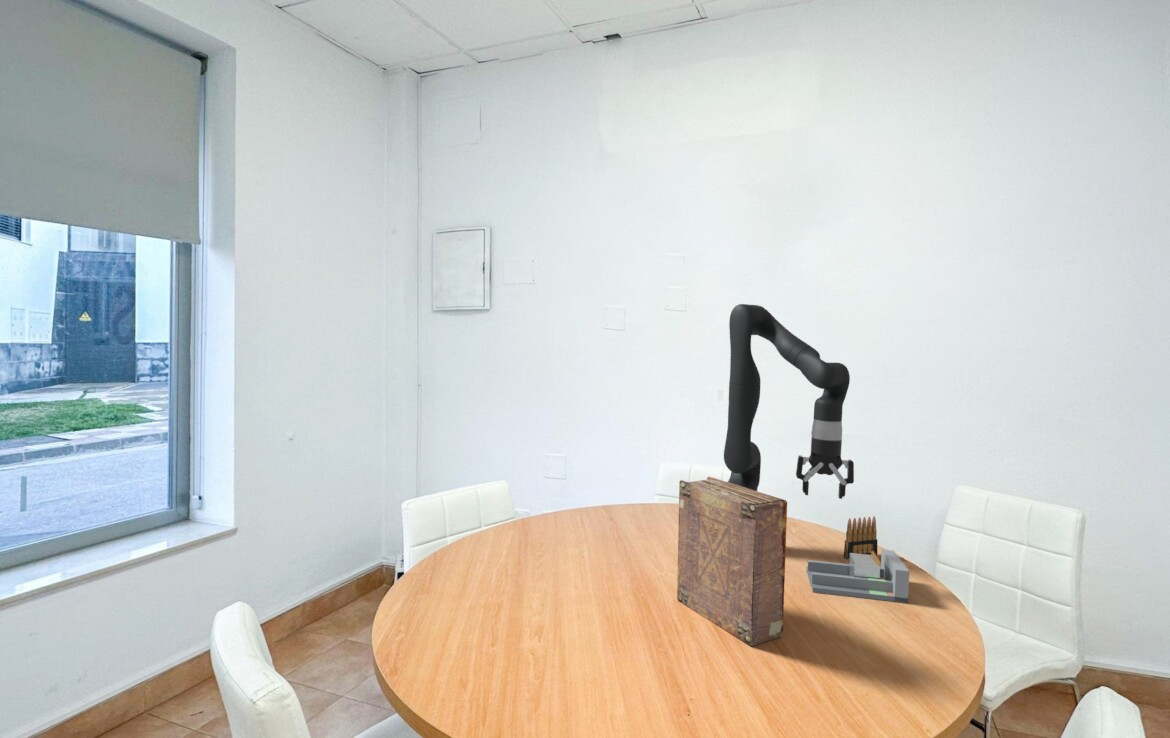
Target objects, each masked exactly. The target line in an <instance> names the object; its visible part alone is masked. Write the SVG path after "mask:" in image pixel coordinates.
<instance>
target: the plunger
mask: <svg viewBox="0 0 1170 738" xmlns="http://www.w3.org/2000/svg"><path fill="white" fill-rule="evenodd" d="M848 560H849V563H848V564H849V576H850V577H860V578H873V579H880V568H881V560H880V559H879V557H878V555H877V556H876V554H875V553H874V551H871V555H866V554H856V553H850V559H848Z"/></svg>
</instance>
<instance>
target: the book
mask: <svg viewBox="0 0 1170 738" xmlns="http://www.w3.org/2000/svg"><path fill="white" fill-rule="evenodd" d="M678 490H679V492H678V494H679V495H678V496H679V497H678V532H677V533H678V534H677V535H678V537H677V538H678V540H677V542H678V543H677V544H678V545H677V546H678V547H677V586H676V587H677V588H676V589H677V594H676V595H677V596H676V599H677V601H678V602H679V603H681V604H682V605H683V606H686V608H689V609H690V610H691V611H694V613H696V614H698V615H699V616H701V617H703V618H704V619H706V620H707V621H709V622H711V623H712V624H714V625H716V626H718V627H719V628H721V629H722V630H724V631H725V632H727V633H728V634H730V635H732V636H733V637H735V638H736V639H738V640H739V641H741V642H743V643H745V644H746V645H747V646H749V647H755V646H757V645H760V644H763V643H766V642H769V641H772V640H775V639H780V638H781V637H783V635H784V634H783V633H784V608H785V581H786V579H785V575H786V551H787V550H786V548H787V519H788V501H787V500H786V499H783V498H779V497H776V496H773V495H771V494H767V493H763V492H760V491H758V490H757V491H754V490H751V489H748V488H745V487H742V486H738V485H735V484H732V483H729V482H728V481H725V480H722V479H719V478H715V477H712V476H707V478H706V479H703V480H695V481H686V480H684V479H680V480H679V486H678Z"/></svg>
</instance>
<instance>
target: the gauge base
mask: <svg viewBox="0 0 1170 738" xmlns="http://www.w3.org/2000/svg"><path fill="white" fill-rule="evenodd" d="M880 554H881V555H880V556H881V560H880V562H881V566H880V579H873V578H860V577H850V576H849V563H839V562H829V561H820V560H809V559H807V565H806V568H805V569H806V575H807V577H808V580H809V584H810V587H811V590H812V593H815V594H816V593H817V594H827V595H833V596H842V597H851V598H858V599H860V598H861V599H868V600H876V601H886V602H895V603H903V604H909V590H910V589H909V588H910V587H909V586H910V585H909V584H910V570H909V569H908V568H907V566H906V565H905V563H904V562H903V561H902V560H901V558H900V556H898V554H897V553H896V551H895V550H893V549H884V548H883V549H881V553H880Z"/></svg>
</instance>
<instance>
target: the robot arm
mask: <svg viewBox="0 0 1170 738" xmlns="http://www.w3.org/2000/svg"><path fill="white" fill-rule="evenodd" d="M728 323H729V326H728V327H729V341H730V342H729V343H730V359H729V360H730V362H729V364H730V365H729V368H730V369H729V382H728V384H729V385H728V406H727V407H728V408H727V409H728V410H727V411H728V412H727V428H726V429H727V431H726V437H725V444H724V449H723V461H724V464H725V466H726V468H727V469H728V470H729V471H730V472H731V473H730V476H729V478H728V481H727V482H729V483H732V484H735V485H738V486H742V487H745V488H748V489H751V490H754V491H758V489H759V485H760V480H761V464H762V456H761V451H760V449H759V447H758V445H757V444H756V443H754V442H753V441H751V440H752V439H751V438H752V437H751V436H752V427H753V423H754V420H755V417H756V414H757V412H758V407H759V404H760V397H761V375H760V372H759V369H758V367H757V365H756V362H755V360H754V358H753V357H754V356H753V354H752V336H758V337H761V338H763V339H765V340H768V341H769V342H770V344H772V345H773V346H774V347H775V349H776V350H777V352H778V354H779V356H781V357H782V358H783V359H784V360H785V361H787V362H788V363H789V364H791V365H792V366H793V367H794V368H796V369H798V370H799V371H800V372H801V374H802V375H803V376H804V377H805V379H807V381H808V382H809V383H810V384H812V385H813V386H814V387H816V388H818V389H821V390H823V392H822V395H821V396H820V397H818V398H816V399H815V401H814V406H813V421H812V426H811V433H810V434H811V438H810V439H811V441H810V455H809V457H808V456H803V455H801V454H800V455H798V457H797V464H796V470H795V471H796V472H795V476H796V479H799V480H801V481H802V493H804V495H805V496H809V488H810V486H809V485H810V484H809V483H810V482H809V480H810V479H811V478H812V477H814V476H815V474H818V475H826V476H832V475H835V477H836V478H837V480H839V483H838V495H837V496H838V497H837V498H838V499H840V500H843V498H844V497H845V496H846V487H847V485H849V484H852V485H853V484H854V482H855V470H854V469H855V468H854V467H855V463H854V461H853V460H852V459H848V460H846V459H844V460H843V459H842V443H843V421H842V420H843V406H844V402H845V399H846V396H847V394H848V391H849V386H850V382H851V381H850V380H851V379H850V378H851V377H850V376H851V375H850V372H849V369H848V368H847V366H846V365H845V364H843V363H841V362H826V361H824V360H822V359H821V355H820V353H819V351H818V350H816V349H815V348H814V347H812V346H811V345H810V344H808V343H807V342H805V341H803V340H802V339H801V338H799V337H797V336H796V335H795V334H794V333H792V332H791V331H790V330H788V329H787V328H786V327H785V326H784V325H783V324H782V323H780V322H779V321H778V320H777V318H776V317H774V316H773V314H772V313H770V311H769V310H768V309H766V308H764V306H761V305H758V304H748V303H747V304H744V303H739V304H737V305H735V306H734V307H733V308H732V310H731V311H730V316H729V321H728ZM807 462H808V463H809V465H810V466H811V467H810V468H809V469H808V470H807V471H806V472H805V473H804V474H803V466H805V465H806V464H807ZM843 465H844V468H845V469H847V472H846V473H847V474H846V475H847V477H846V478H844V476H842V474H841V472H840V471H839V469H840V468H841V467H842V466H843Z"/></svg>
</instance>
